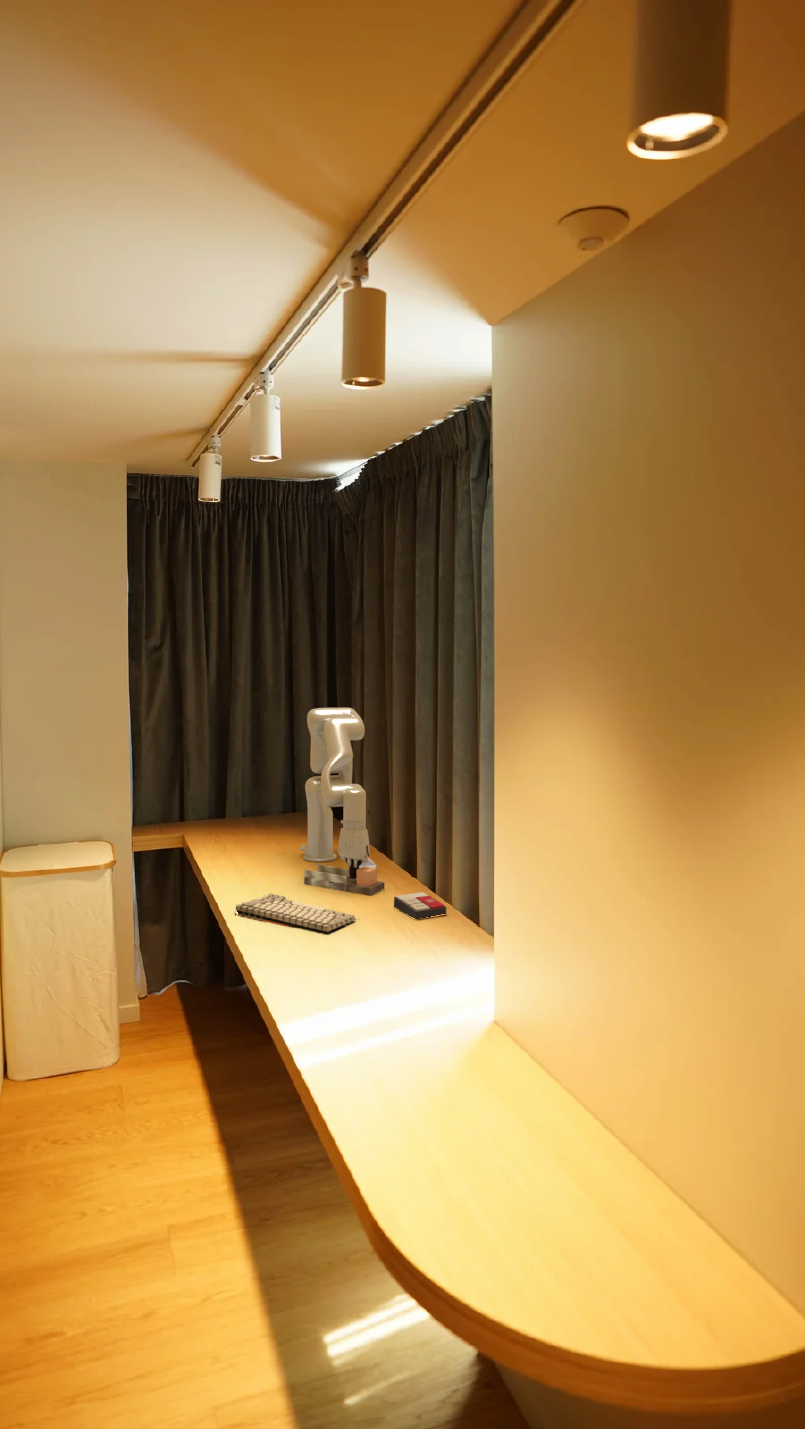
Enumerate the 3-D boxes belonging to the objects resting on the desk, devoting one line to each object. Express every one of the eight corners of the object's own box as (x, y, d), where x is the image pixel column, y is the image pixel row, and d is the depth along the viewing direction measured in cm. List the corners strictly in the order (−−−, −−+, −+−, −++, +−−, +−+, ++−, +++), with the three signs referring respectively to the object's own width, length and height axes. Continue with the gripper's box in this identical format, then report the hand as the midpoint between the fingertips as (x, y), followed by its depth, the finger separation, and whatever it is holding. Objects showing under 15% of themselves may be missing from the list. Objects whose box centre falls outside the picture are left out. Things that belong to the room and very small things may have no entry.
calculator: (416, 909, 295) (393, 894, 308) (415, 923, 296) (393, 907, 309) (447, 904, 300) (423, 890, 313) (446, 918, 301) (423, 902, 314)
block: (356, 884, 325) (356, 869, 324) (364, 880, 329) (364, 866, 329) (369, 886, 322) (369, 871, 322) (376, 882, 327) (377, 868, 326)
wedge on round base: (346, 869, 353) (353, 879, 340) (346, 851, 352) (354, 860, 340) (370, 868, 355) (378, 877, 343) (370, 850, 355) (379, 859, 342)
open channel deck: (304, 883, 333) (304, 869, 333) (318, 878, 341) (318, 864, 340) (371, 895, 320) (371, 880, 320) (384, 889, 328) (384, 875, 327)
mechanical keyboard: (363, 921, 296) (363, 910, 296) (326, 938, 280) (326, 927, 279) (267, 901, 316) (267, 891, 315) (228, 916, 300) (228, 906, 299)
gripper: (329, 824, 326) (329, 877, 328) (367, 829, 319) (367, 883, 321) (341, 820, 333) (341, 872, 335) (379, 825, 326) (378, 878, 328)
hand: (354, 877), depth 328 cm, fingers closed
